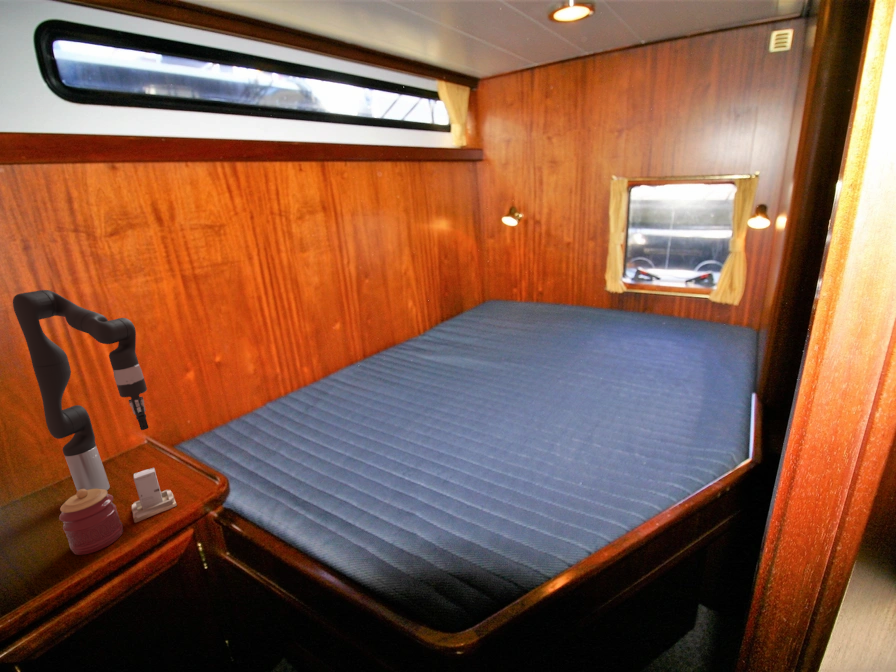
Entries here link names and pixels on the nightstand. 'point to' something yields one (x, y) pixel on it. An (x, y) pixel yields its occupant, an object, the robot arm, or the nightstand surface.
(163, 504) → the white shallow tray
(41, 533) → the nightstand surface
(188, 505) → the nightstand surface
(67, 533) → the canister
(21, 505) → the nightstand surface
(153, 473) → the skincare box
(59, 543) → the nightstand surface
